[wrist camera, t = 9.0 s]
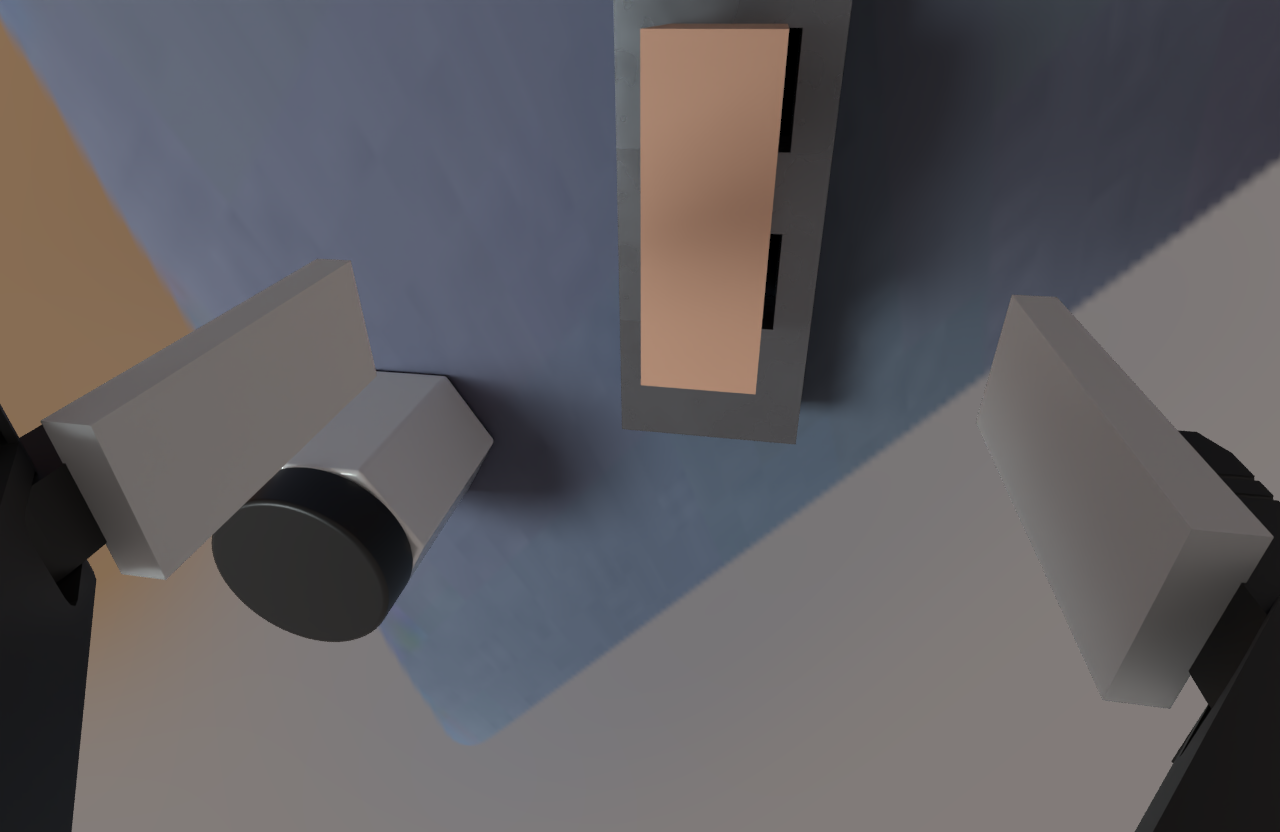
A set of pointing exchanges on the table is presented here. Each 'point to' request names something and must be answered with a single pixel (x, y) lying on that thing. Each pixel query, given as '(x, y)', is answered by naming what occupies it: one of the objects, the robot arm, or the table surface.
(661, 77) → the orange tan block
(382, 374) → the jar
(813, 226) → the grey slotted block
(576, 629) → the table surface
